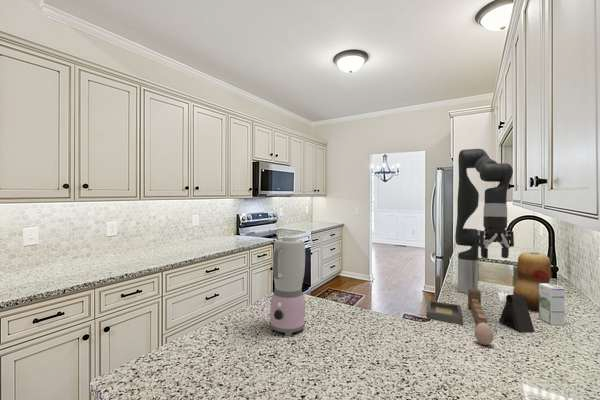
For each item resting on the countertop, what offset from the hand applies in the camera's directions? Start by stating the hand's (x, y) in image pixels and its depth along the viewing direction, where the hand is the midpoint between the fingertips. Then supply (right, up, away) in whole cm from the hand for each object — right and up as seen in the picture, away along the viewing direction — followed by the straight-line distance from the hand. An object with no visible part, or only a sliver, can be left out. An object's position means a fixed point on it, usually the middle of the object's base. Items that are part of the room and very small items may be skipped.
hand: (494, 257), depth 109 cm
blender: (-79, -23, -10) cm, 83 cm away
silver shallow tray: (-15, -25, +8) cm, 30 cm away
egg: (-15, -25, -17) cm, 33 cm away
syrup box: (+24, -26, +3) cm, 36 cm away
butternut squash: (+30, -27, +18) cm, 44 cm away
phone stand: (+6, -26, -3) cm, 26 cm away
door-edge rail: (-4, -25, +4) cm, 26 cm away
